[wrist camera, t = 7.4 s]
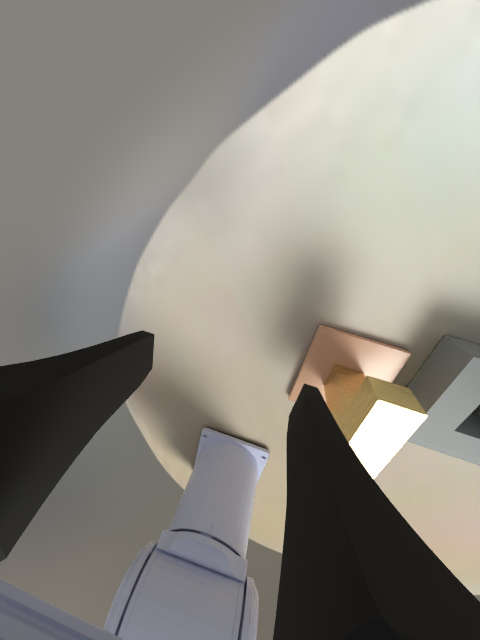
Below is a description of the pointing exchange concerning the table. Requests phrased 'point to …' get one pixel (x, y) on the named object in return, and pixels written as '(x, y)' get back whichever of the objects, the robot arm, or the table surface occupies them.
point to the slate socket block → (450, 400)
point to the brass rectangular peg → (372, 415)
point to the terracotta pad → (347, 359)
